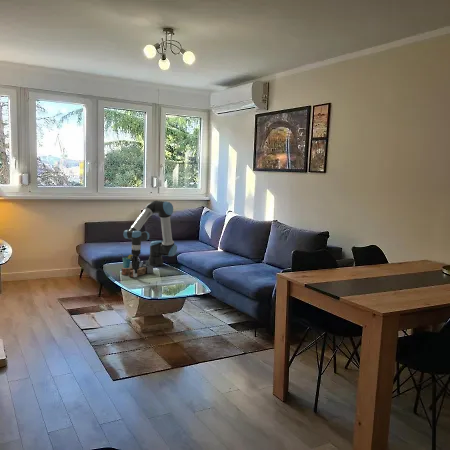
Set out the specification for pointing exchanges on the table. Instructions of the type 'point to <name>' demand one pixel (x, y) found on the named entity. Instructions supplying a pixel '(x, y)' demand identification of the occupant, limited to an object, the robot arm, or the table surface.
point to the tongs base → (126, 270)
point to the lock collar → (148, 267)
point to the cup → (126, 261)
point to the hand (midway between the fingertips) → (135, 276)
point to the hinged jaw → (138, 272)
